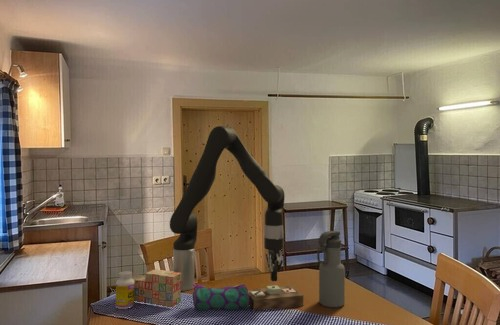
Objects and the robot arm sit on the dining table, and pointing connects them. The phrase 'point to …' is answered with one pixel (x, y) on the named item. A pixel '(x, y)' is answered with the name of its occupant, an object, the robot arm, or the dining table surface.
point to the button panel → (275, 299)
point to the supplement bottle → (125, 290)
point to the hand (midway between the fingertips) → (273, 280)
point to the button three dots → (257, 293)
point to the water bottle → (331, 271)
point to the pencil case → (221, 298)
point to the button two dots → (288, 290)
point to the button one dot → (273, 290)
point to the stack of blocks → (158, 288)
